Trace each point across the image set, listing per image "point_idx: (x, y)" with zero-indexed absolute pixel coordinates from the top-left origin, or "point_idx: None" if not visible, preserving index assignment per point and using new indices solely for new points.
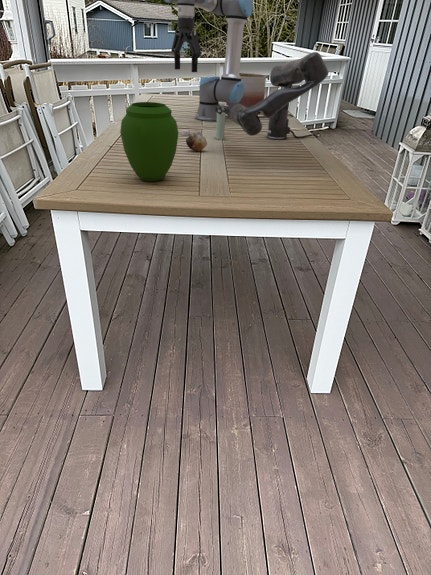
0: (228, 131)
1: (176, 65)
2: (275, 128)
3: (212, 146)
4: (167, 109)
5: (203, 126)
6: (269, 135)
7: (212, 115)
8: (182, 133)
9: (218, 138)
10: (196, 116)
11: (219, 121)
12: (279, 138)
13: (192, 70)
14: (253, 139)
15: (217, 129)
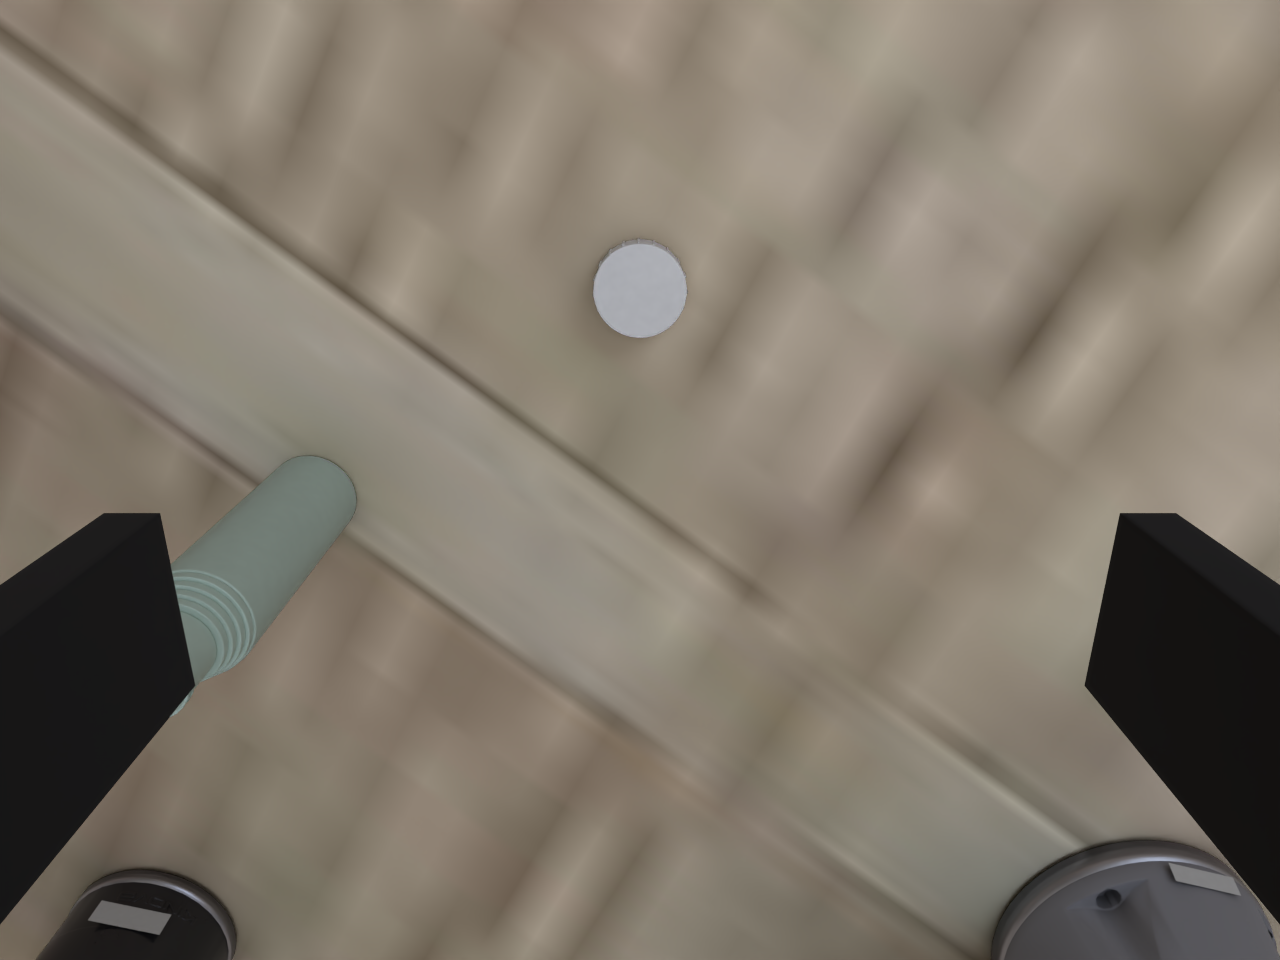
0: (553, 759)
1: (1184, 610)
2: (44, 957)
3: (20, 197)
4: None
5: (869, 697)
6: (138, 889)
7: (1034, 952)
8: (633, 240)
9: (284, 463)
10: (1210, 865)
11: (205, 533)
12: (71, 911)
13: (73, 534)
14: (168, 740)
15: (267, 490)
